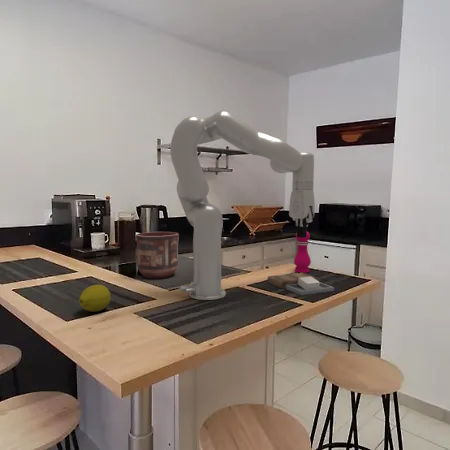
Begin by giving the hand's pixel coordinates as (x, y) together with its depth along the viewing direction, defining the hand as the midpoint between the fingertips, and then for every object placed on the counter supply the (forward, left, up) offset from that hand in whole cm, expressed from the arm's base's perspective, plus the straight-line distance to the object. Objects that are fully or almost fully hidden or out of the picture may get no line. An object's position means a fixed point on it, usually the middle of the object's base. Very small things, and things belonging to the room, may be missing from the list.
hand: (301, 237), depth 139 cm
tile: (+1, -4, -18) cm, 18 cm away
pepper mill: (+16, +22, -19) cm, 33 cm away
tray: (0, -5, -19) cm, 19 cm away
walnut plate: (0, +6, -19) cm, 20 cm away
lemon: (-73, +2, -19) cm, 75 cm away
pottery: (-44, +41, -19) cm, 63 cm away
